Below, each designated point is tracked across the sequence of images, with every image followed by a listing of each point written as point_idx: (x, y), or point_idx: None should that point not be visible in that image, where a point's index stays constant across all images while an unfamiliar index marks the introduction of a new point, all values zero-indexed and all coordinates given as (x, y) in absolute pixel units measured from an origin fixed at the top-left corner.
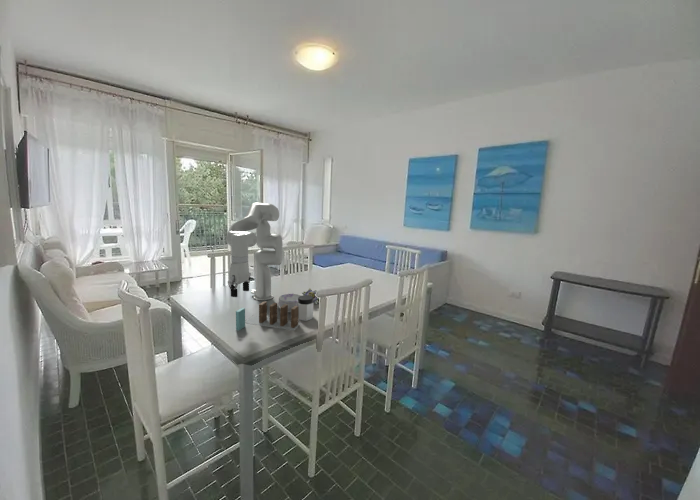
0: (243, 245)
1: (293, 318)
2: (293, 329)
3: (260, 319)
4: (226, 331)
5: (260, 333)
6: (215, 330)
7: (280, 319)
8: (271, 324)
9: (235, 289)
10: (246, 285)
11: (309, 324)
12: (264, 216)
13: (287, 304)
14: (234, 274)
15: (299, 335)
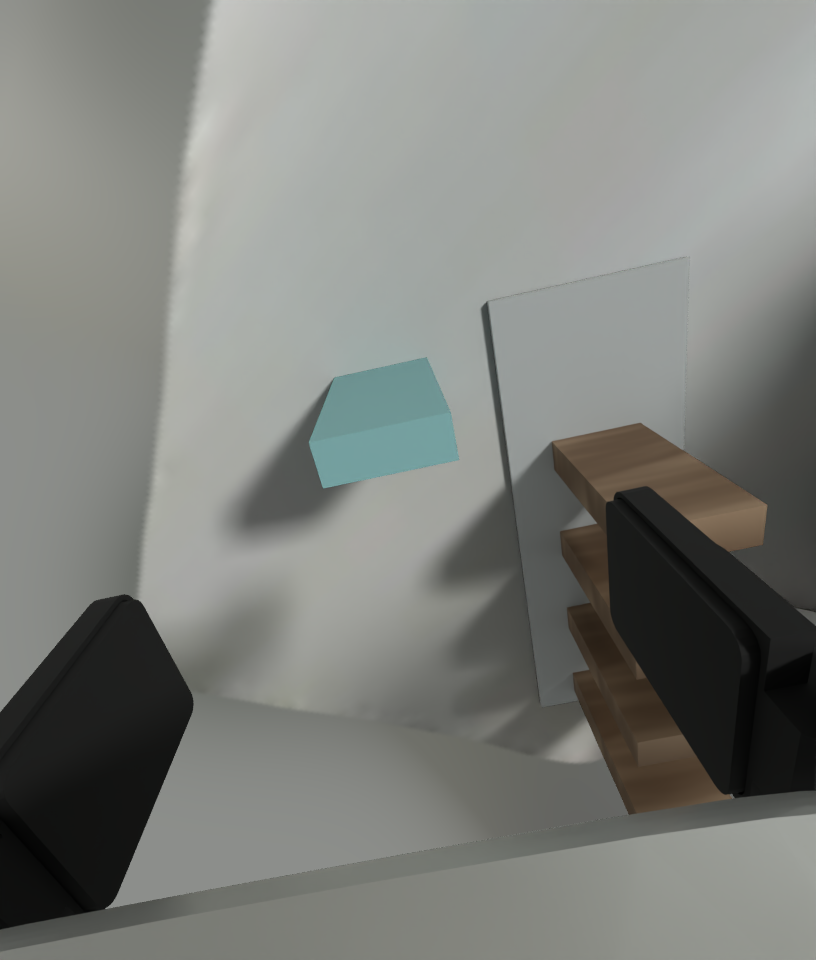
0: None
1: (602, 749)
2: (553, 697)
3: (564, 467)
4: (270, 314)
5: (403, 566)
6: (215, 193)
7: (587, 647)
8: (561, 547)
9: (44, 903)
10: (695, 708)
11: None
12: None
13: None
14: None
15: (503, 747)
